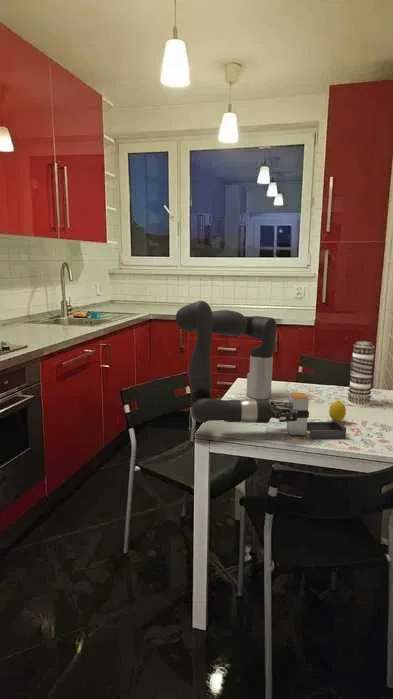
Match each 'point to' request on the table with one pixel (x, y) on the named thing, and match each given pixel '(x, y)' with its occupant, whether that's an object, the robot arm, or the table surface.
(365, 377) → the decorative candle
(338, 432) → the channel
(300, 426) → the block
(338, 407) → the lemon
